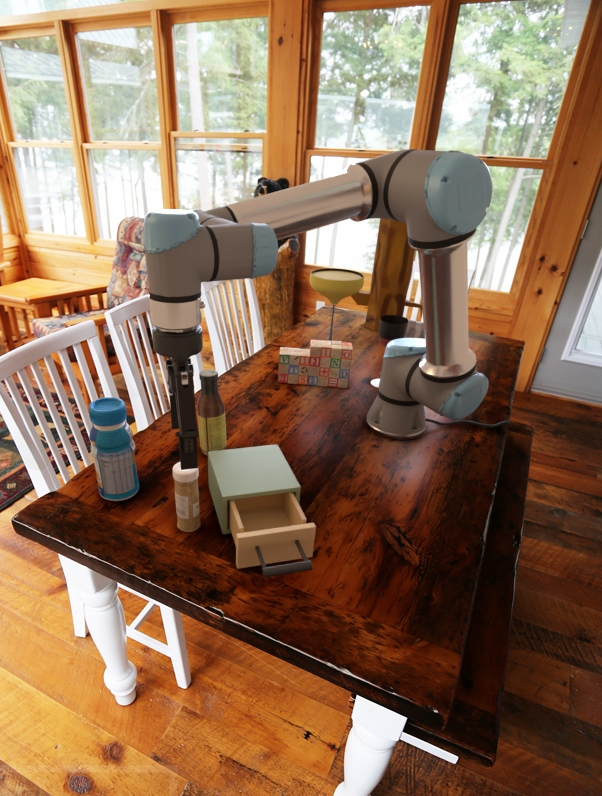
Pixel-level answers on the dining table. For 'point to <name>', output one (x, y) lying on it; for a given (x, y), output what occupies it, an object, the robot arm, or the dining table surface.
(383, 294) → the decorative log
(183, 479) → the spice jar
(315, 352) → the stack of blocks
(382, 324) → the wineglass
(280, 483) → the cabinet
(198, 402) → the sauce bottle
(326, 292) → the cocktail glass
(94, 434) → the beverage bottle
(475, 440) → the dining table surface
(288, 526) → the drawer
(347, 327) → the dining table surface
